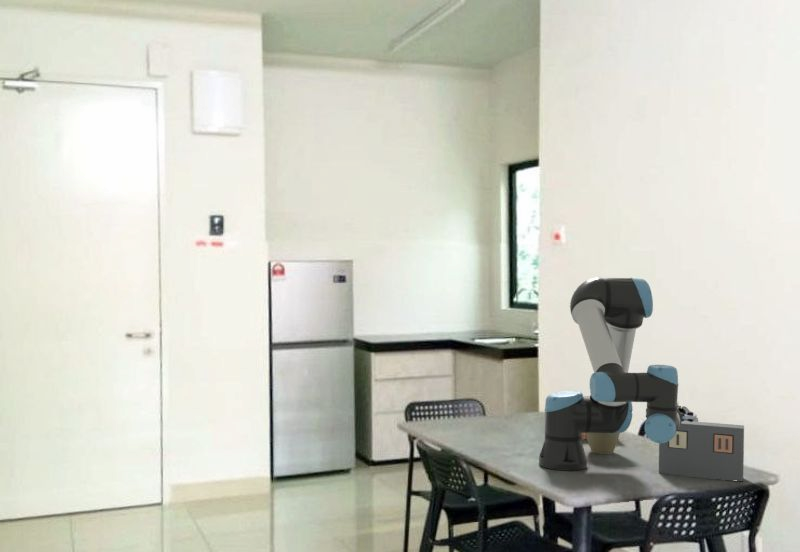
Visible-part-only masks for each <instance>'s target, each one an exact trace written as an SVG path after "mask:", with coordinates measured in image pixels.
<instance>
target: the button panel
mask: <svg viewBox="0 0 800 552" xmlns="http://www.w3.org/2000/svg"><path fill="white" fill-rule="evenodd" d="M678 430H680V431H687V448H686V449H685V448H674V447H669V441H668V442H666V443H658V446H659V447H658V474H660V473H661V474H662V475H671V476H680V477H689V478H699V479H707V478H708V480H716V479H721V480H720V481H725V480H737V481H743V482H744V463H745V462H744V461H745V460H744V457H745V456H744V454H745V447H744V446H745V425H743V424H730V423H719V422H706V421H698V422H696V421H693V422H690V421H682V422H681V425H680V426H679V428H678ZM715 434H726V435H733V452H732V453H727V452H716V451H714V438H715ZM661 474H660V475H661Z"/></svg>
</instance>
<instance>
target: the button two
mask: <svg viewBox="0 0 800 552" xmlns="http://www.w3.org/2000/svg"><path fill="white" fill-rule="evenodd" d="M714 451H716V452H727V453H732V452H733V435H726V434H715V438H714Z"/></svg>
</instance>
